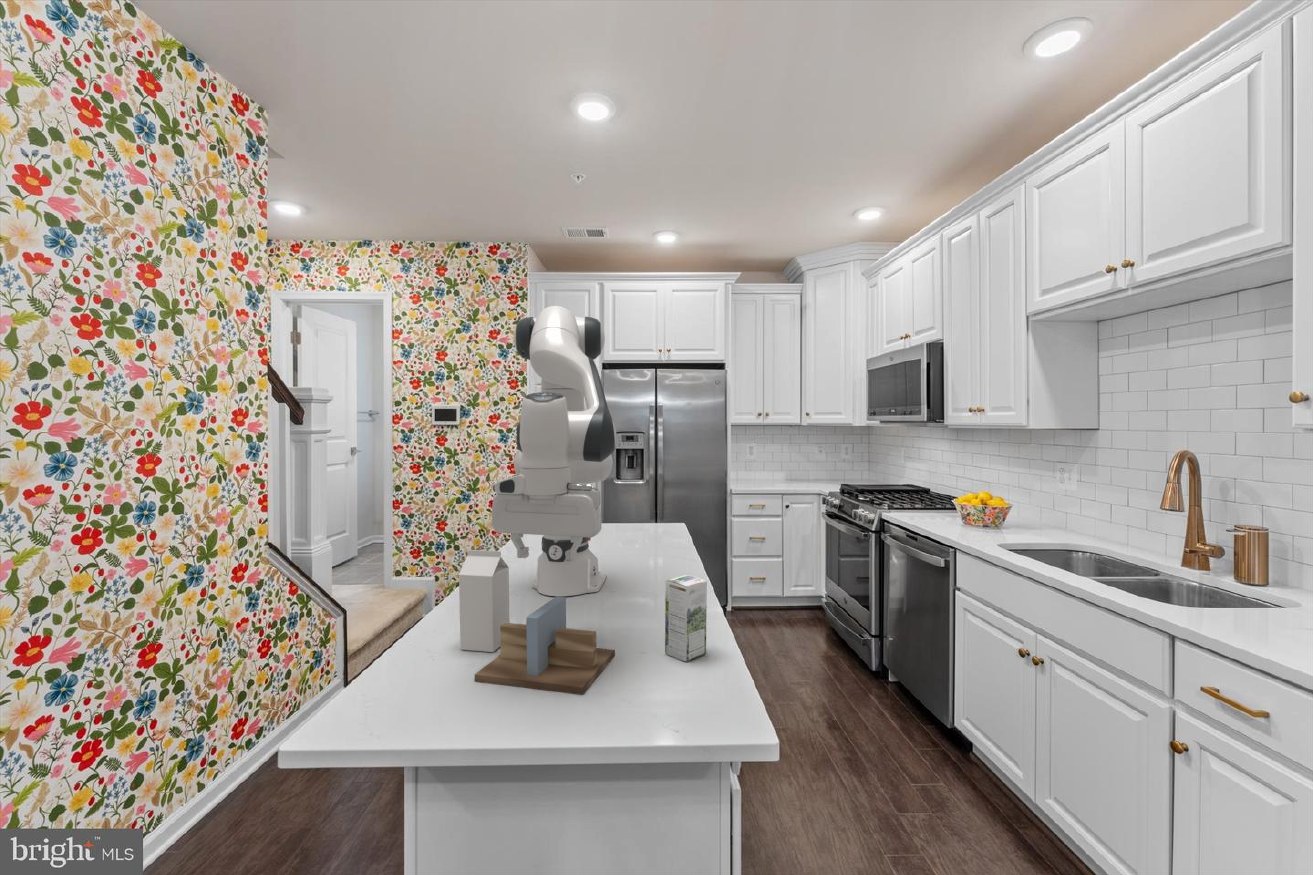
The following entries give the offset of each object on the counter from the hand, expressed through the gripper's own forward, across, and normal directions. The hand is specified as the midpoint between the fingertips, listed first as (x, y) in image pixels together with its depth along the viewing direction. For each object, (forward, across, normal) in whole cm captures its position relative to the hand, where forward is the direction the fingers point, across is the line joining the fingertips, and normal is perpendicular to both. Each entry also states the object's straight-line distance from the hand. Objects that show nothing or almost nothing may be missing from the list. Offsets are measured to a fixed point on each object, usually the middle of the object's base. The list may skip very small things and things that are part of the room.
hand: (546, 558), depth 105 cm
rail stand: (+20, 0, 0) cm, 20 cm away
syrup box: (+20, -23, -12) cm, 33 cm away
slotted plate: (+19, 0, 0) cm, 19 cm away
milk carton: (+20, +17, -7) cm, 27 cm away
